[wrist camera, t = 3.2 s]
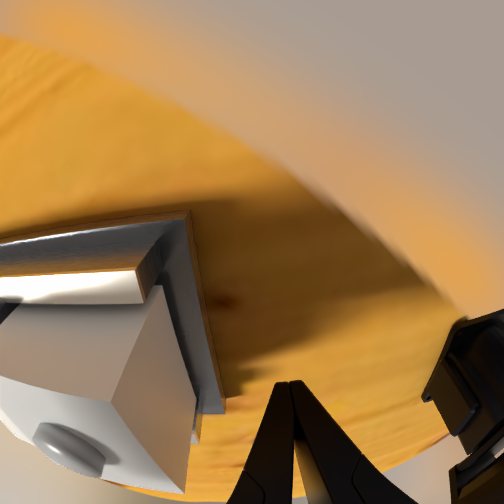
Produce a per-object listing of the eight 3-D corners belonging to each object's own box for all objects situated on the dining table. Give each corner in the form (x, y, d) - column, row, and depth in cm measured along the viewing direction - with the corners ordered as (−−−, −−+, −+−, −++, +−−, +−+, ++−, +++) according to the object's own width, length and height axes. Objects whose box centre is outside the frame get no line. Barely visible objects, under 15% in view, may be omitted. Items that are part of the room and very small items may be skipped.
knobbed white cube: (162, 284, 9) (102, 424, 4) (196, 399, 11) (183, 507, 6) (34, 289, 9) (-41, 374, 4) (86, 389, 11) (51, 473, 6)
